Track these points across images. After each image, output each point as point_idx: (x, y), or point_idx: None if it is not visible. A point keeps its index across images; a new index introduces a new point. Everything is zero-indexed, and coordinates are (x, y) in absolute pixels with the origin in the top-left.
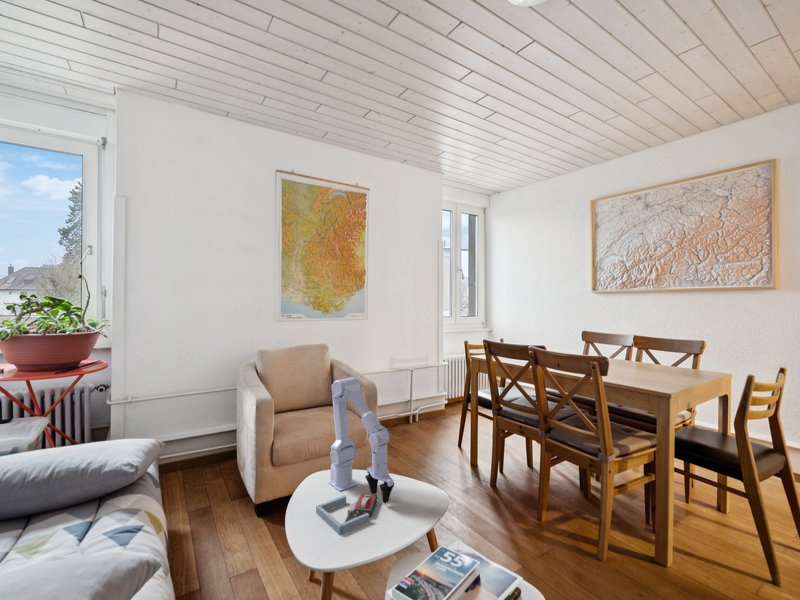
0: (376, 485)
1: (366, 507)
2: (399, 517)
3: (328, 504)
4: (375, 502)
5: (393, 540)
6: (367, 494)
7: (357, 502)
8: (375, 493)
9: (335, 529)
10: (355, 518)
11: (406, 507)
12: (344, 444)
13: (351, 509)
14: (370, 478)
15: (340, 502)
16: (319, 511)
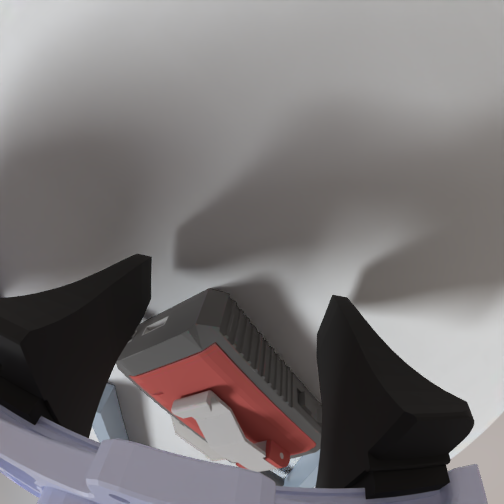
0: (113, 297)
1: (288, 450)
2: (470, 330)
3: None
4: (260, 356)
5: (477, 422)
6: (154, 364)
7: (193, 431)
8: (149, 269)
9: None
10: (303, 485)
11: (476, 213)
12: None
13: (221, 456)
14: (79, 432)
15: (113, 416)
16: None
